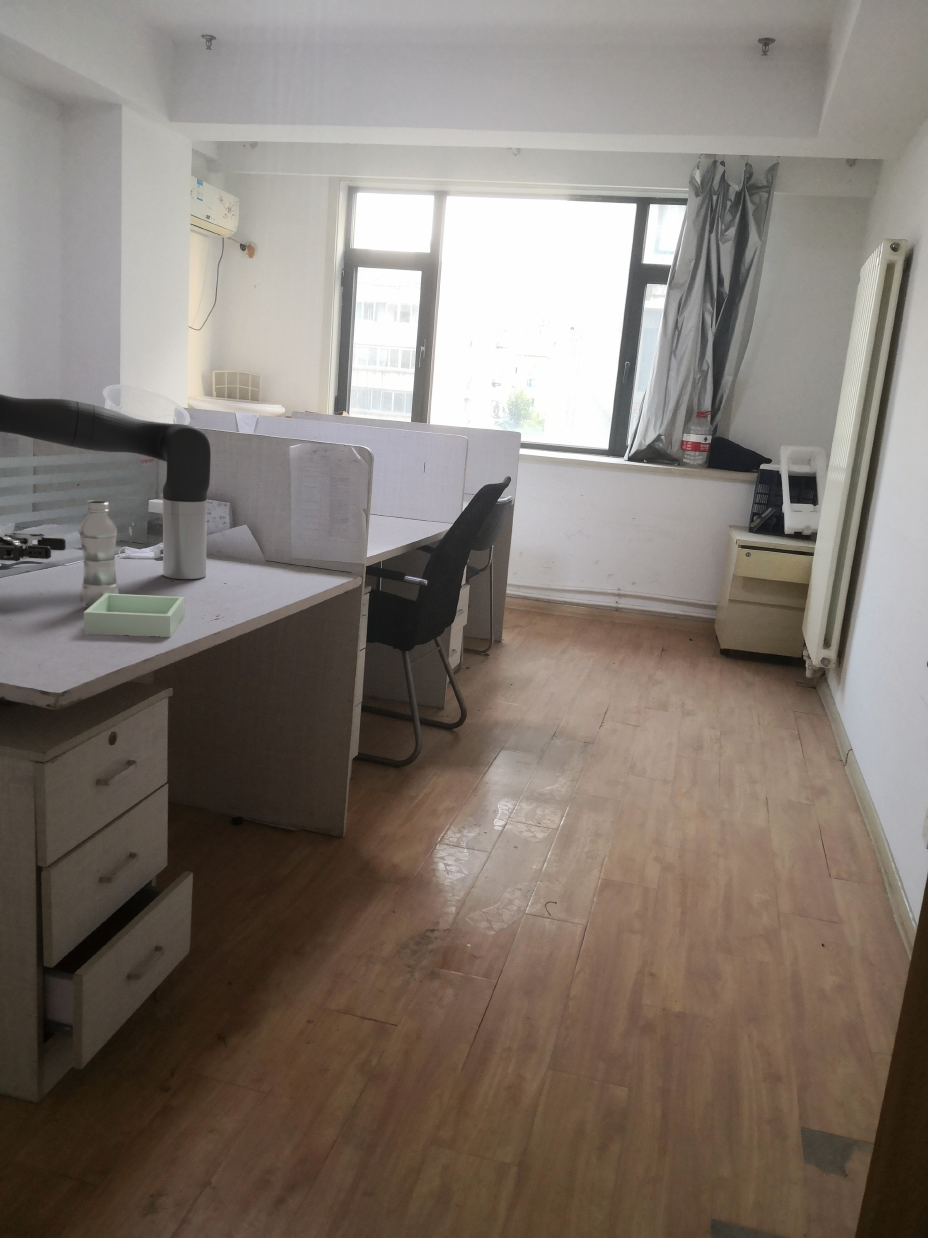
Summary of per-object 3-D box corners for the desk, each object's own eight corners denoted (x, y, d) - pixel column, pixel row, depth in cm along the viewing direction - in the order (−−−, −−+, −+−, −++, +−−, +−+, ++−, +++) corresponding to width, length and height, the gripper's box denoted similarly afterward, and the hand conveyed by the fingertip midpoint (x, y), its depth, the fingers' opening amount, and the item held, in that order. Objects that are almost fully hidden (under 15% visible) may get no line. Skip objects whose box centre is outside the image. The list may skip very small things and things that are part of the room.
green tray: (106, 613, 161) (105, 593, 160) (184, 616, 163) (184, 597, 162) (84, 633, 147) (83, 612, 146) (170, 637, 150) (170, 615, 149)
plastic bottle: (126, 608, 166) (125, 503, 161) (95, 613, 160) (92, 505, 155) (105, 601, 169) (103, 498, 164) (73, 607, 163) (70, 500, 158)
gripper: (-55, 529, 151) (44, 534, 153) (-22, 517, 164) (69, 522, 167) (-52, 572, 152) (46, 576, 155) (-20, 556, 166) (70, 561, 168)
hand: (58, 548), depth 161 cm, fingers open, 8 cm apart
